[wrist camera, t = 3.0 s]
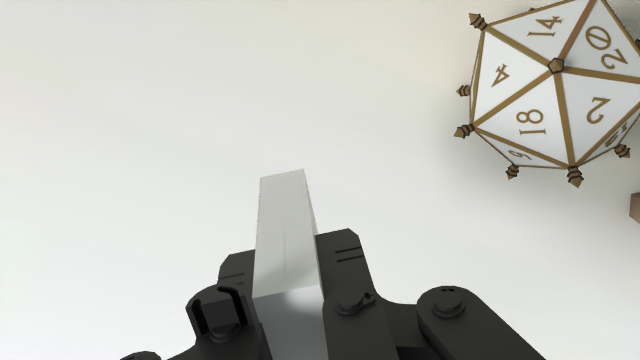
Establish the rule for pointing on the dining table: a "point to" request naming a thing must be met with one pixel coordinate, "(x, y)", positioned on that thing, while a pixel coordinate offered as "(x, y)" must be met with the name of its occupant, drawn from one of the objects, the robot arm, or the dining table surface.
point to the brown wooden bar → (635, 207)
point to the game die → (554, 86)
